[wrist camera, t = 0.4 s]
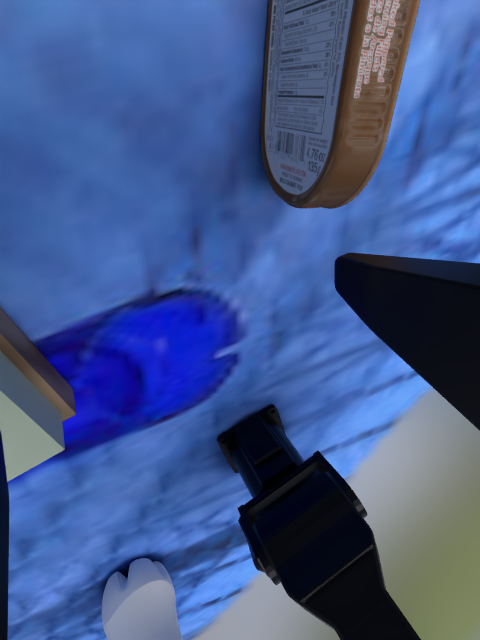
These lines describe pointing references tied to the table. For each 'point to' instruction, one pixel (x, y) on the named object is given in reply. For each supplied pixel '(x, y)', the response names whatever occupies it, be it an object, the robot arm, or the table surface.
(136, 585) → the water bottle
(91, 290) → the table surface
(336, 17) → the tin
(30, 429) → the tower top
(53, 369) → the tower base
